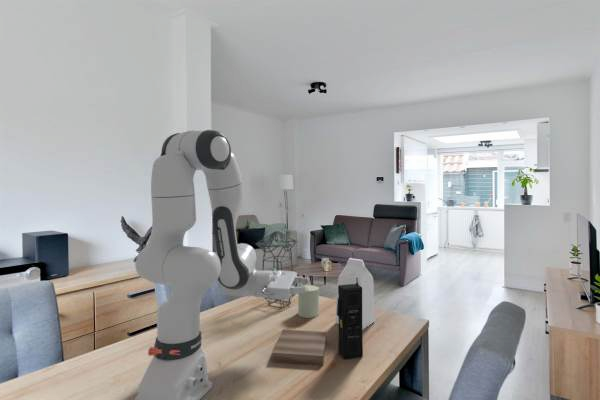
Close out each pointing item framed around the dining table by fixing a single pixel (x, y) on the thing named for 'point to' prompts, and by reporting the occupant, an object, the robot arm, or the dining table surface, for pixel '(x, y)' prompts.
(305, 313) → the can
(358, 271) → the milk
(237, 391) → the dining table surface
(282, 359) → the walnut plinth
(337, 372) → the dining table surface
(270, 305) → the geometric lantern
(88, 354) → the dining table surface
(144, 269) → the robot arm
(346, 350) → the portable radio
